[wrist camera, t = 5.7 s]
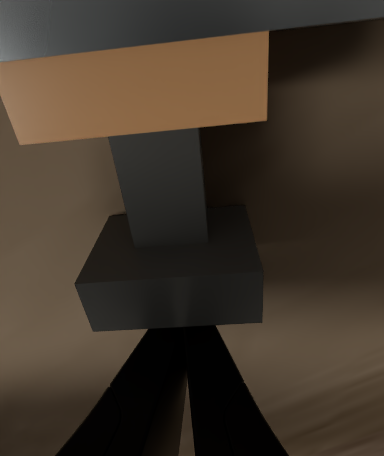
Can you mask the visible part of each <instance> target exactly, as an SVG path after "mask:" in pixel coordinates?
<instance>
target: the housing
mask: <svg viewBox="0 0 384 456" xmlns="http://www.w3.org/2000/svg"><path fill="white" fill-rule="evenodd" d="M377 19H384V0H0V63H1V62H9V61H18V60H26V59H35V58H43V57H52V56H60V55H69V54H77V53H86V52H94V51H103V50H111V49H120V48H128V47H137V46H145V45H154V44H162V43H171V42H180V41H188V40H197V39H205V38H214V37H222V36H231V35H239V34H248V33H256V32H265V31H273V30H276V31H283V30H291V29H300V28H308V27H317V26H325V25H334V24H343V23H351V22H360V21H368V20H377Z"/></svg>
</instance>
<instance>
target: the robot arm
mask: <svg viewBox="0 0 384 456" xmlns="http://www.w3.org/2000/svg"><path fill="white" fill-rule="evenodd" d="M187 378H188V388H189V398H190V408H191V418H192V428H193V438H194V448H195V456H289V455H288V454H287V452H286V451H285V449H284V448H283V446H282V445H281V443H280V442H279V440H278V439H277V437H276V436H275V434H274V433H273V431H272V430H271V428H270V426H269V425H268V423H267V422H266V420H265V418H264V417H263V415H262V414H261V412H260V410H259V408H258V406H257V405H256V403H255V401H254V399H253V397H252V395H251V393H250V392H249V390H248V388H247V386H246V384H245V383H244V380H243V378H242V376H241V374H240V372H239V370H238V368H237V366H236V364H235V362H234V361H233V359H232V357H231V355H230V353H229V351H228V349H227V347H226V345H225V343H224V341H223V339H222V337H221V335H220V333H219V331H218V329H217V327H216V325H207V326H189V327H170V328H152V329H148V330H147V332H146V333H145V334H144V336H143V337H142V339H141V340H140V342H139V343H138V345H137V346H136V348H135V349H134V350H133V352H132V353H131V355H130V356H129V358H128V359H127V361H126V362H125V363H124V365H123V366H122V368H121V369H120V371H119V372H118V374H117V375H116V377H115V378H114V379H113V381H112V382H111V384H110V387H108V388H107V389H106V391H105V392H104V394H103V395H102V397H101V398H100V400H99V401H98V402H97V404H96V405H95V406H94V408H93V409H92V411H91V412H90V413H89V415H88V416H87V417H86V419H85V420H84V421H83V422H82V424H81V425H80V426H79V427H78V429H77V430H76V431H75V432H74V434H73V435H72V436H71V437H70V439H69V440H68V441H67V442H66V443H65V444H64V446H63V447H62V448H61V449H60V450H59V452H58V453H57V454H56V455H55V456H178V454H179V445H180V437H181V428H182V420H183V412H184V403H185V395H186V387H187Z"/></svg>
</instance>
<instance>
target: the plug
mask: <svg viewBox="0 0 384 456" xmlns="http://www.w3.org/2000/svg"><path fill="white" fill-rule="evenodd" d="M268 48H269V31H265V32H256V33H248V34H239V35H231V36H222V37H214V38H205V39H197V40H188V41H180V42H171V43H162V44H154V45H145V46H137V47H128V48H120V49H111V50H103V51H94V52H86V53H77V54H69V55H60V56H52V57H43V58H35V59H26V60H18V61H9V62H1V63H0V96H1V98H2V101H3V103H4V106H5V108H6V111H7V113H8V116H9V119H10V121H11V124H12V126H13V129H14V131H15V134H16V136H17V139H18V141H19V144H20V145H27V144H37V143H47V142H57V141H67V140H77V139H87V138H97V137H107V136H108V138H109V142H110V147H111V151H112V155H113V159H114V163H115V167H116V171H117V176H118V180H119V184H120V188H121V192H122V196H123V201H124V205H125V209H126V213H127V215H116V216H109V218H108V220H107V222H106V224H105V226H104V228H103V229H102V231H101V233H100V235H99V237H98V239H97V241H96V243H95V245H94V247H93V249H92V251H91V253H90V255H89V257H88V259H87V261H86V262H85V264H84V266H83V268H82V270H81V272H80V274H79V276H78V278H77V280H76V282H75V287H76V289H77V292H78V295H79V297H80V300H81V302H82V305H83V307H84V310H85V312H86V315H87V317H88V320H89V323H90V325H91V328H92V330H93V332H97V331H115V330H133V329H152V328H170V327H189V326H207V325H226V324H244V323H262V312H263V268H262V265H261V261H260V258H259V254H258V250H257V247H256V243H255V240H254V236H253V232H252V229H251V225H250V222H249V218H248V214H247V211H246V207H245V205H240V206H228V207H215V208H207V205H206V193H205V182H204V170H203V159H202V147H201V135H200V127H208V126H218V125H228V124H238V123H248V122H258V121H267V92H268Z"/></svg>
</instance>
